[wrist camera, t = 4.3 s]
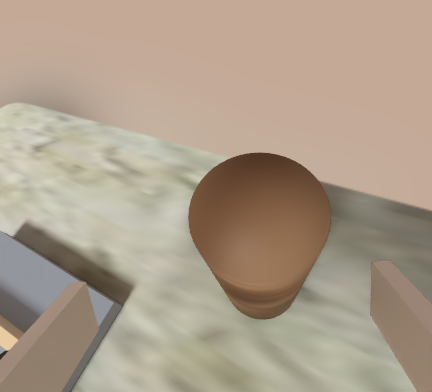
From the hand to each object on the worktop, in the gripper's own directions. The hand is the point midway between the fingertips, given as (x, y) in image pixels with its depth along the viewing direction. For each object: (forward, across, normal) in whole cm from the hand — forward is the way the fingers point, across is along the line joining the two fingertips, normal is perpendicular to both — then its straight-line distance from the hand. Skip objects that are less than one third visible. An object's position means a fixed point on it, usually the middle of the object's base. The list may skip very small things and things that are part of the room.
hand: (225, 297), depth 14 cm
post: (+7, +2, -4) cm, 8 cm away
